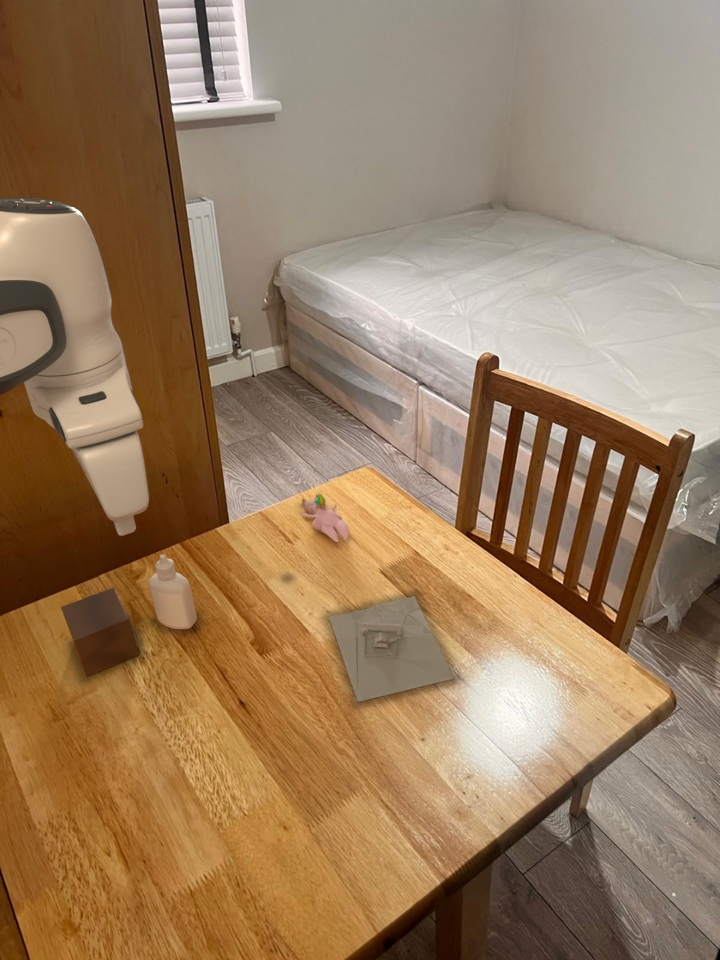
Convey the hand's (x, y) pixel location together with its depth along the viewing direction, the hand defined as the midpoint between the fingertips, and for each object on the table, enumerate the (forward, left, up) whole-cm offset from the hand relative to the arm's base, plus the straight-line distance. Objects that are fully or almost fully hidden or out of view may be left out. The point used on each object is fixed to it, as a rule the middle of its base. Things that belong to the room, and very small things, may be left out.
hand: (112, 505), depth 74 cm
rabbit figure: (+34, +20, -31) cm, 50 cm away
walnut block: (-4, +13, -31) cm, 34 cm away
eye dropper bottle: (+6, +13, -31) cm, 34 cm away
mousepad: (+28, -2, -31) cm, 42 cm away
